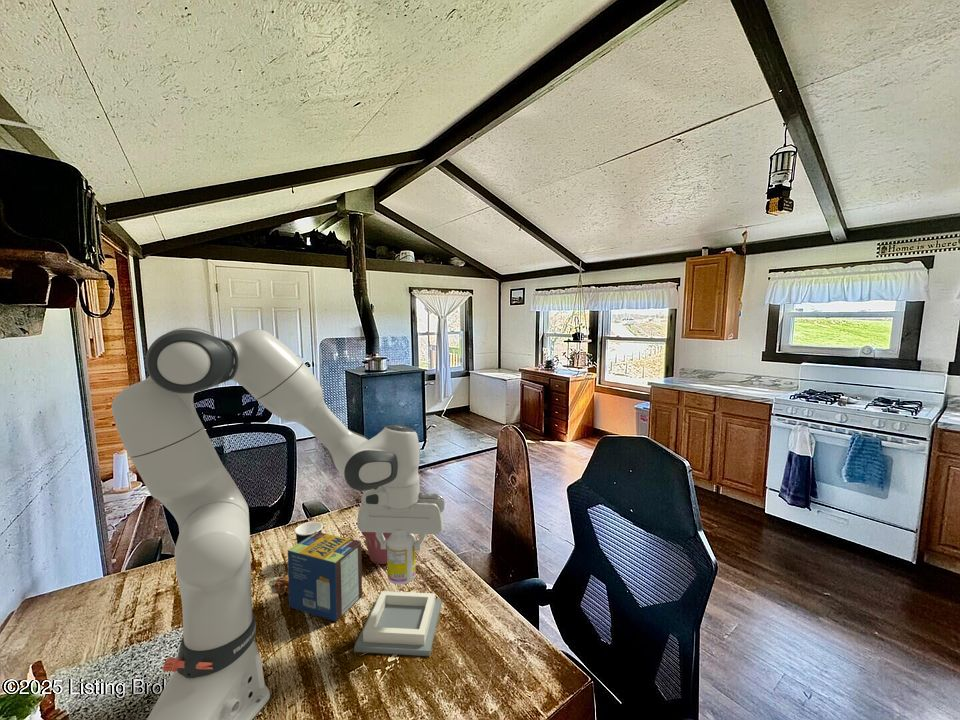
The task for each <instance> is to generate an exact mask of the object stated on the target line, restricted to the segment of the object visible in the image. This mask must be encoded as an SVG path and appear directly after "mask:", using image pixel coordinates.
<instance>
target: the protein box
mask: <svg viewBox="0 0 960 720" xmlns="http://www.w3.org/2000/svg"><path fill="white" fill-rule="evenodd" d="M362 566H363V565H362V541H360V540H356V539H351V538H346V537H344V536H343V537H341V536H338V535H334V534H329V533H324V532H321V533H320V532H315V533H313V534H312V535H310V536H309V537H307V538H306V539H304V540H303V541H301V542H299V543H298V544H297V543H296V544H294V545H293V546H292V547H290V548H288V550H287V567H288V568H287V569H288V572H287V573H288V574H287V577H288V578H289V595H288V607H289V608H291V609H294V610H297V611H300V612H304V613H307V614H310V615H313V616H316V617H320V618H322V619H325V620H329V621H333V622H338V621H340V619H341V618H342V617H344V615H345V614H346V613H347V612H348V611H349V610H350V609H351V608H352V607H354V605H355V604H356V603H357V602H358V601H359V600H360V599H361V598H362V597H363V582H362V581H363V573H362V572H363V571H362Z"/></svg>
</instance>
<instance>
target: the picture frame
mask: <svg viewBox="0 0 960 720" xmlns="http://www.w3.org/2000/svg"><path fill="white" fill-rule="evenodd" d="M442 601H443V599H442V598H436V593H434V592H432V593H429V592H413V591H411V592H410V591H408V592H407V591H391V590H389V591H387V590H381V592H380V594H379V595H378V596H377V598H376V600H375V601H374V604H373V607H372V608H371V610H370V612H369V614H368V616H367V619H366V620H365V623H364V625H363V627H362V630H361V631H360V634H359V636H358V638H357V640H356V642H355V645H354V647H353V651H354V653H355V652H356V653H369V654H385V655H404V656H420V657H421V656H422V657H430V656H431V654H432V647H433V643H434V639H435V635H436V631H437V630H436V629H437V626H438V622H439V617H440V613H441V608H442V605H443V604H442Z"/></svg>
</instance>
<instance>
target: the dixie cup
mask: <svg viewBox="0 0 960 720" xmlns="http://www.w3.org/2000/svg"><path fill="white" fill-rule="evenodd" d="M323 526H324V525H323V524H322V523H321V522H318V521H310V522H309V521H308V522H304V523H302V524H300V525H298V526H297V527H295V529H294V533H295V536H296V544H298V543H299V542H301V541H303V540H304V539H306V538H307V537H309V536H310V535H312V534H313V533H315V532H320V533H322V529H323Z"/></svg>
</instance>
